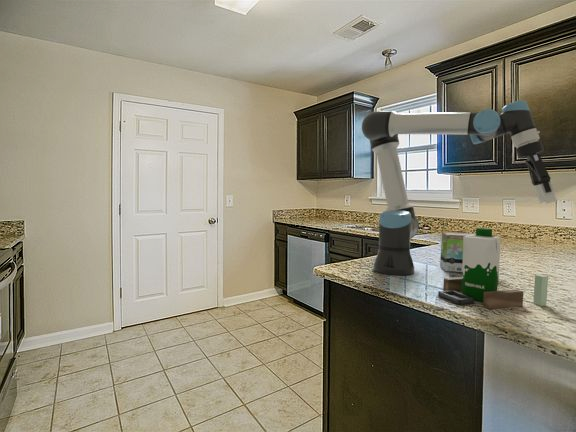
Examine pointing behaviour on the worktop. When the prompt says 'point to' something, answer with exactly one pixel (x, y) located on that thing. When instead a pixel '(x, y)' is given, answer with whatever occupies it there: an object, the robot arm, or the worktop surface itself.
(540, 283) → the gate
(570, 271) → the worktop surface
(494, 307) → the channel
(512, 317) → the worktop surface
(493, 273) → the soya milk
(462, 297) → the pit tray
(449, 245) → the tea box
